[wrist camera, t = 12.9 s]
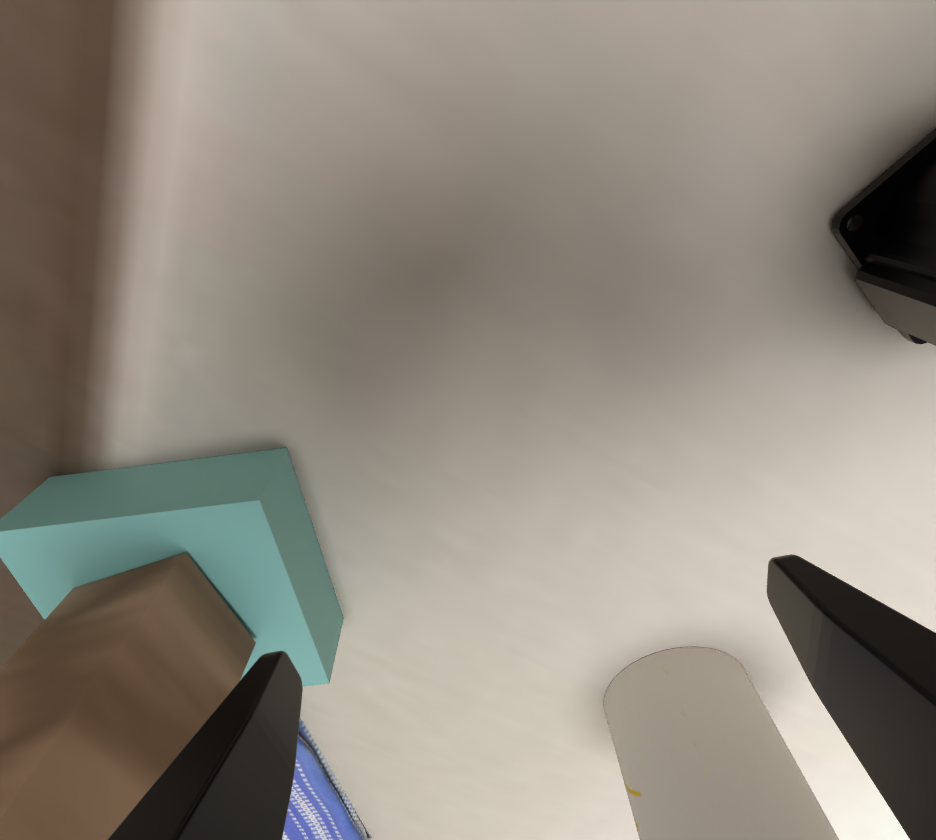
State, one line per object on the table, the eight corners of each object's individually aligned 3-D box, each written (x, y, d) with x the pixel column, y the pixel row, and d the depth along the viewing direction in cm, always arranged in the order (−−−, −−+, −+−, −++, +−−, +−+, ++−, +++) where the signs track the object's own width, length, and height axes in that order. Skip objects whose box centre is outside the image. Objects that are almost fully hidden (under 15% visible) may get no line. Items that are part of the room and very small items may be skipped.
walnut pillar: (186, 552, 19) (-228, 1143, 8) (256, 642, 22) (12, 1213, 10) (73, 588, 20) (-456, 1175, 9) (151, 672, 22) (-189, 1233, 11)
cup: (574, 705, 30) (641, 1010, 20) (683, 625, 28) (830, 931, 17) (668, 754, 33) (772, 1046, 22) (776, 685, 30) (955, 983, 20)
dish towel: (-111, 739, 31) (-160, 793, 28) (284, 672, 29) (269, 722, 27) (58, 876, 39) (31, 927, 36) (374, 829, 37) (369, 879, 35)
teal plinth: (289, 442, 22) (259, 499, 19) (344, 611, 27) (329, 683, 23) (56, 471, 22) (-17, 533, 19) (151, 633, 27) (107, 708, 24)
